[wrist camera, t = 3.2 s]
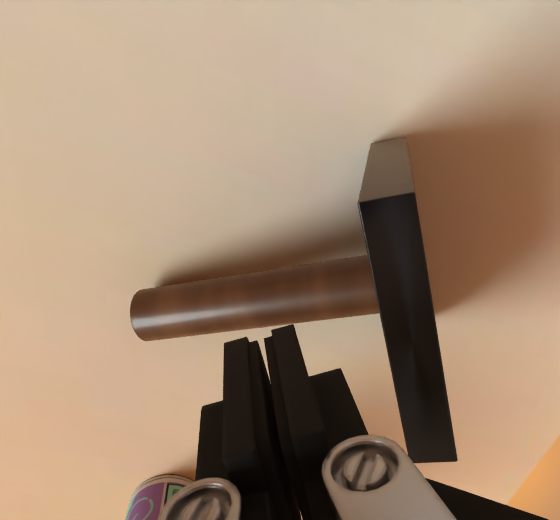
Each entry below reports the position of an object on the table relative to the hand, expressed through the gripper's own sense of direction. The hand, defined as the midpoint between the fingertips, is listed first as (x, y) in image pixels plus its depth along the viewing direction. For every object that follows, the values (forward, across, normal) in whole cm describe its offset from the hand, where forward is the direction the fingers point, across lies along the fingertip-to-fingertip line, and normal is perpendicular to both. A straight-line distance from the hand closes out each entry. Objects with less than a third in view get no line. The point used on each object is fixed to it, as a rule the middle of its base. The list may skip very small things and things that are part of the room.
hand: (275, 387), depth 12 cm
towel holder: (+19, -1, +4) cm, 19 cm away
